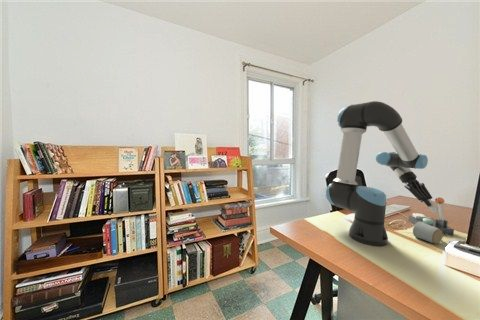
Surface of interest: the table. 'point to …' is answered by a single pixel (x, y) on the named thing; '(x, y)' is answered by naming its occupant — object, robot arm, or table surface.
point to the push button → (428, 221)
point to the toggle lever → (440, 208)
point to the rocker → (418, 216)
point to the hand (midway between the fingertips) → (436, 211)
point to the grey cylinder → (427, 232)
